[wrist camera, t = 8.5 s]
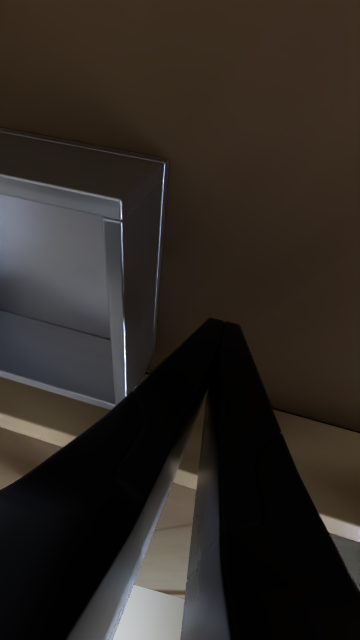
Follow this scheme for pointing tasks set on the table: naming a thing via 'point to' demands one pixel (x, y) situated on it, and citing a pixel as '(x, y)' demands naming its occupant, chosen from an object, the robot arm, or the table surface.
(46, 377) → the baking tin
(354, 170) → the table surface
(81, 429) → the corner bracket
